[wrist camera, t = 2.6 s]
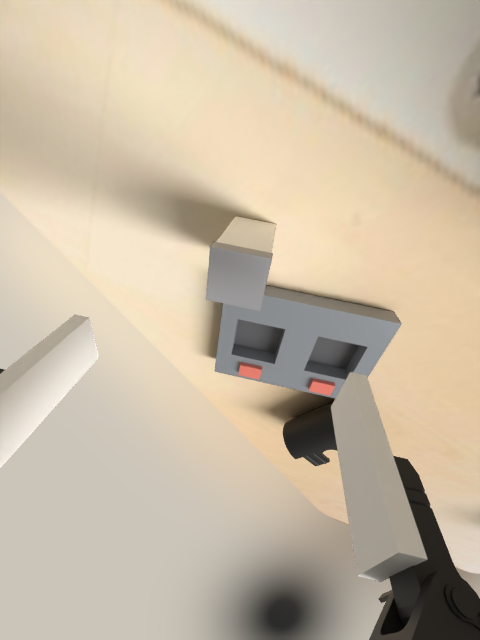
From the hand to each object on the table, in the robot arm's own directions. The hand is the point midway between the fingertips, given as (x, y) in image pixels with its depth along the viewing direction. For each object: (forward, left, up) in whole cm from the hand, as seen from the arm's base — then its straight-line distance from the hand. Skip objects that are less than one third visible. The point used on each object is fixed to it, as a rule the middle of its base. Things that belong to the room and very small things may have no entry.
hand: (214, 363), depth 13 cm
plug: (0, 0, -19) cm, 19 cm away
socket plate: (+12, +8, -19) cm, 23 cm away
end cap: (+26, +16, -19) cm, 36 cm away
